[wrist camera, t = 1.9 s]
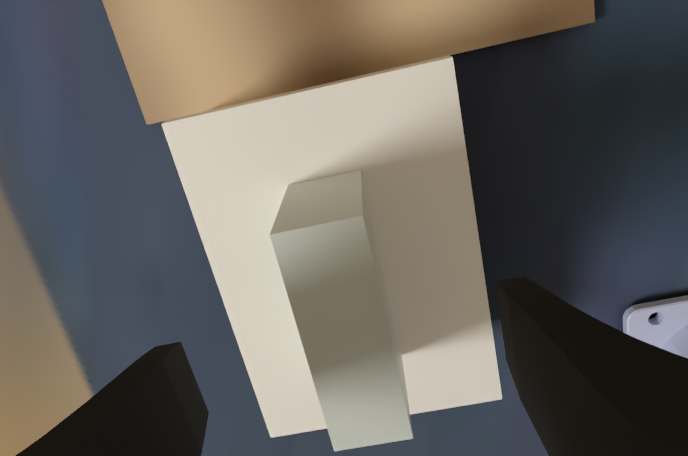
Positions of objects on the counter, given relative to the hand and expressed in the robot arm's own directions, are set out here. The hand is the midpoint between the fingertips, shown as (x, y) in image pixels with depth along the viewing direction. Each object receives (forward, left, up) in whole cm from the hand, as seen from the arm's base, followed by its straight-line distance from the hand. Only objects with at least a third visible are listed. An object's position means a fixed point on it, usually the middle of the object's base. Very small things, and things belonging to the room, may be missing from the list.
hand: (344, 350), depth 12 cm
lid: (0, 0, -4) cm, 4 cm away
